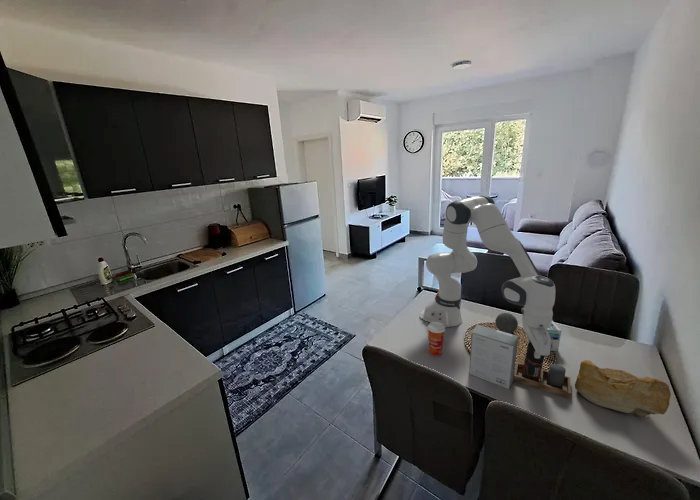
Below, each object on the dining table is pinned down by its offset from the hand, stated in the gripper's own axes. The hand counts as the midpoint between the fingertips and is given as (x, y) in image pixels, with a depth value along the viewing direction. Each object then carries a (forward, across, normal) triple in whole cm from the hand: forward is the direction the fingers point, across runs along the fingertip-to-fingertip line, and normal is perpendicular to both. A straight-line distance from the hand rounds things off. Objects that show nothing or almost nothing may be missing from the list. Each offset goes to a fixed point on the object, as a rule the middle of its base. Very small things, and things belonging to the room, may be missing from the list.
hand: (533, 351), depth 112 cm
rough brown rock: (+14, -4, -26) cm, 30 cm away
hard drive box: (+14, 0, +14) cm, 20 cm away
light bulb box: (+13, +28, -14) cm, 34 cm away
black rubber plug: (+13, -2, -8) cm, 15 cm away
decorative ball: (+13, +35, +2) cm, 37 cm away
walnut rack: (+14, 0, -4) cm, 14 cm away
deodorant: (+13, +2, 0) cm, 13 cm away
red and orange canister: (+13, +12, +36) cm, 40 cm away
